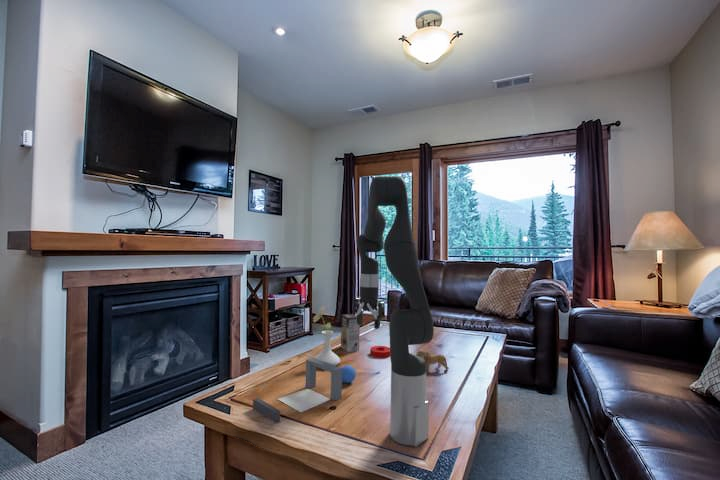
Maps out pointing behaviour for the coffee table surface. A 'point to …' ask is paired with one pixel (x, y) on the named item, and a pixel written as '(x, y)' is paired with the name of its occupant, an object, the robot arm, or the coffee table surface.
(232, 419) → the coffee table surface
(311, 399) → the white panel
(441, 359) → the lion figurine
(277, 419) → the wall
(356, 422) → the coffee table surface
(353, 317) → the coffee box
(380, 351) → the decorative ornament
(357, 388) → the coffee table surface
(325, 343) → the flower in vase
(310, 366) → the gray arch
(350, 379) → the ball
